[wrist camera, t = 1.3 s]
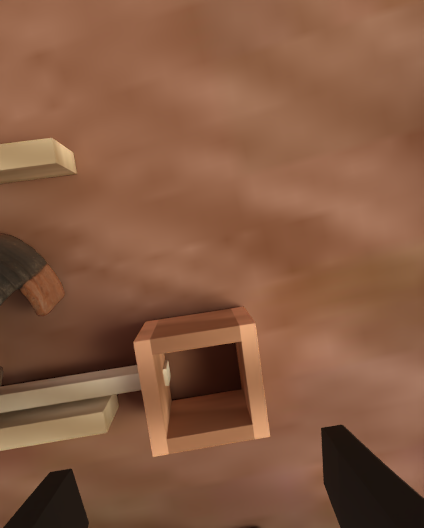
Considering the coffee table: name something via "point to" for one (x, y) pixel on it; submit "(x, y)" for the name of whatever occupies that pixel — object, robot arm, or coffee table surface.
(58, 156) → the frame
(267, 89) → the coffee table surface
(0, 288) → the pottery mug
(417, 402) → the coffee table surface
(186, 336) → the pull frame
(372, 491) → the robot arm
